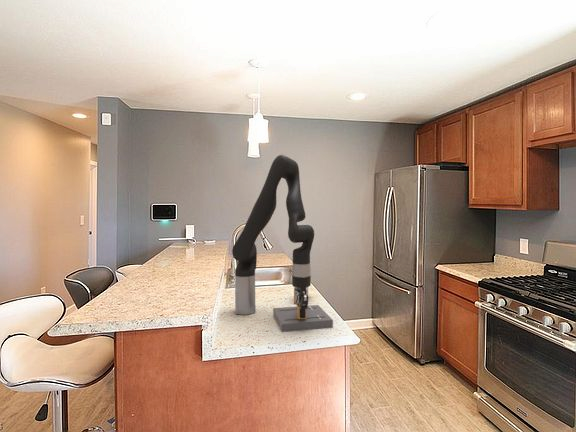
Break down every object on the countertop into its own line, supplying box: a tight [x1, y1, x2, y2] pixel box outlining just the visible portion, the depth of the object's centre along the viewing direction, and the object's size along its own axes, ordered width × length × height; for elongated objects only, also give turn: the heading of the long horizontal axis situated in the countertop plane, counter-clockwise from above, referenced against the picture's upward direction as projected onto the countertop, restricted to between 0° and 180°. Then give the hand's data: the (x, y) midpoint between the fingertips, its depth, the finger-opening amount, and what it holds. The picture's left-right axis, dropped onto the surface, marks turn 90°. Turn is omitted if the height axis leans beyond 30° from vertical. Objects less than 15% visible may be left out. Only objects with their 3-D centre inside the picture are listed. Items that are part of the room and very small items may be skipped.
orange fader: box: [296, 304, 306, 319], centre depth 131 cm, size 3×3×5 cm
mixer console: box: [272, 304, 334, 333], centre depth 137 cm, size 21×20×3 cm
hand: (301, 316), depth 131 cm, fingers closed on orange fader, 3 cm apart
